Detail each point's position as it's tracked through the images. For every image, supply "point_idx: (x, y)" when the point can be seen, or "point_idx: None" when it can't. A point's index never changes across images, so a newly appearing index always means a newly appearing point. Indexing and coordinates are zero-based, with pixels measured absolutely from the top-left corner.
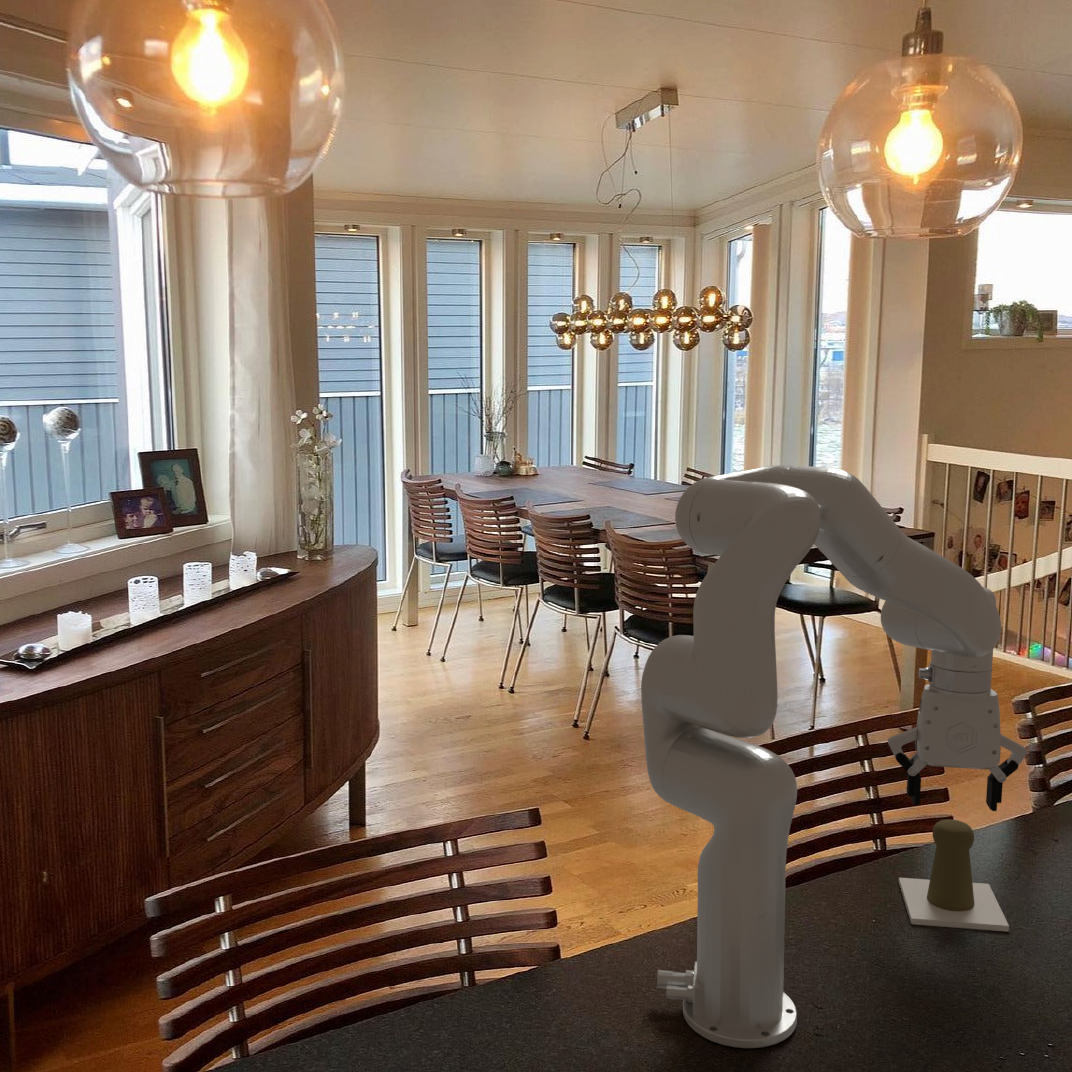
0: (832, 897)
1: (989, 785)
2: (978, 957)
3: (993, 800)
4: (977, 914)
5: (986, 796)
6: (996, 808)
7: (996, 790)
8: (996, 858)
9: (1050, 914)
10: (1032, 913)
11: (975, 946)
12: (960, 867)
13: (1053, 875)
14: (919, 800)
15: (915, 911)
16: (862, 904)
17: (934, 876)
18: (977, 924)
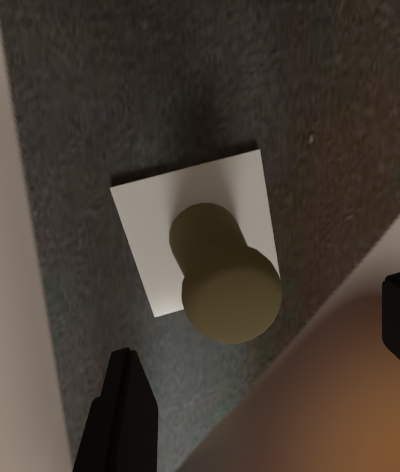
0: (368, 191)
1: (140, 469)
2: (147, 70)
3: (119, 380)
4: (161, 207)
5: (157, 428)
6: (111, 356)
7: (98, 429)
8: None
9: (59, 272)
10: (85, 264)
11: (156, 111)
12: (200, 237)
13: (73, 391)
14: (398, 286)
15: (254, 176)
16: (326, 187)
17: (241, 233)
18: (158, 175)
